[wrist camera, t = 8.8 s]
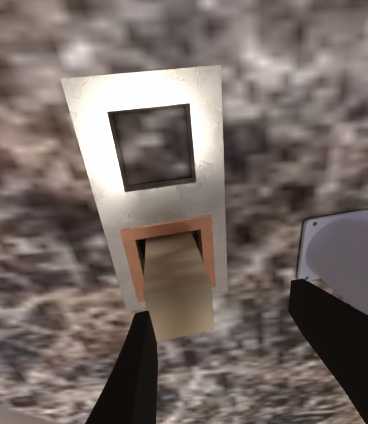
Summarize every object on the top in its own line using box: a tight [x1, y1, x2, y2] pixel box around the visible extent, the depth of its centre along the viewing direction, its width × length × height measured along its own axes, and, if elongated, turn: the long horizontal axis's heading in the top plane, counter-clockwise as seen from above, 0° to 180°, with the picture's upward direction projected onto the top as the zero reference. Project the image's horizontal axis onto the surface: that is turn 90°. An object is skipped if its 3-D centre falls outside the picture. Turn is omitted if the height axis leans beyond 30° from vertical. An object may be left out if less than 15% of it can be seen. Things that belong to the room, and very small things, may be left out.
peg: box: [143, 231, 214, 342], centre depth 16 cm, size 4×4×8 cm
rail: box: [61, 65, 228, 311], centre depth 17 cm, size 10×19×2 cm, turn 6°
